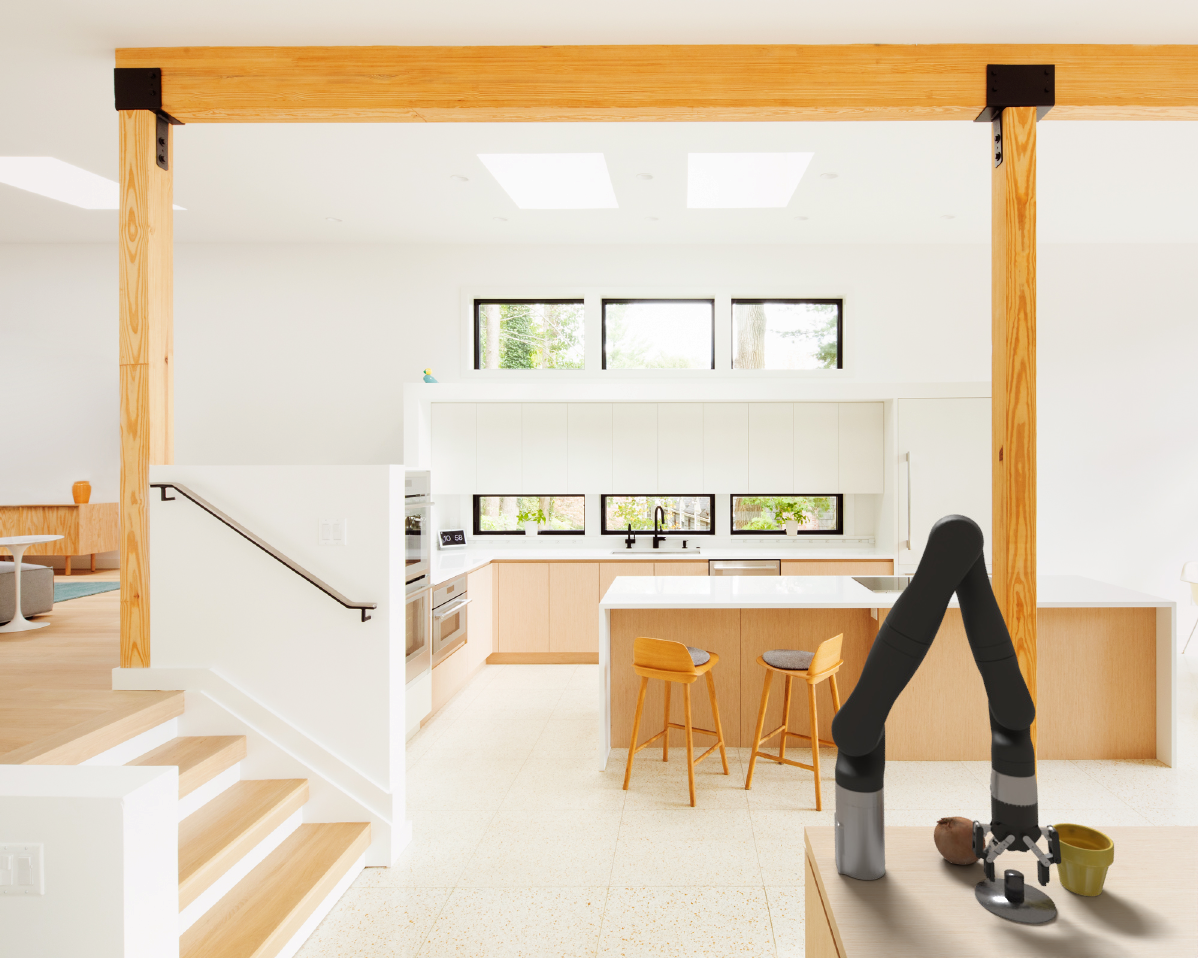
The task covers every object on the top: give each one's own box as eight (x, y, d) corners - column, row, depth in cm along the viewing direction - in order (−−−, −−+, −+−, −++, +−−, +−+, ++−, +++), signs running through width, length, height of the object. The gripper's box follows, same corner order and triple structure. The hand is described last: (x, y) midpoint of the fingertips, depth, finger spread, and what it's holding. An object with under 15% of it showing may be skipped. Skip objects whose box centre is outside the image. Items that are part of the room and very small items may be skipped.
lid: (987, 921, 130) (986, 890, 130) (966, 880, 142) (965, 852, 142) (1068, 929, 127) (1068, 897, 127) (1039, 886, 140) (1039, 858, 140)
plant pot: (1125, 905, 133) (1125, 852, 132) (1062, 900, 135) (1062, 847, 134) (1098, 874, 143) (1098, 824, 143) (1040, 869, 145) (1040, 820, 145)
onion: (942, 877, 148) (918, 832, 149) (954, 846, 155) (931, 804, 155) (989, 877, 142) (963, 831, 142) (999, 845, 148) (975, 801, 149)
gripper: (977, 800, 132) (980, 890, 132) (1065, 805, 129) (1068, 896, 129) (966, 783, 139) (968, 867, 139) (1048, 787, 136) (1051, 873, 136)
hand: (1016, 881), depth 134 cm, fingers open, 8 cm apart
